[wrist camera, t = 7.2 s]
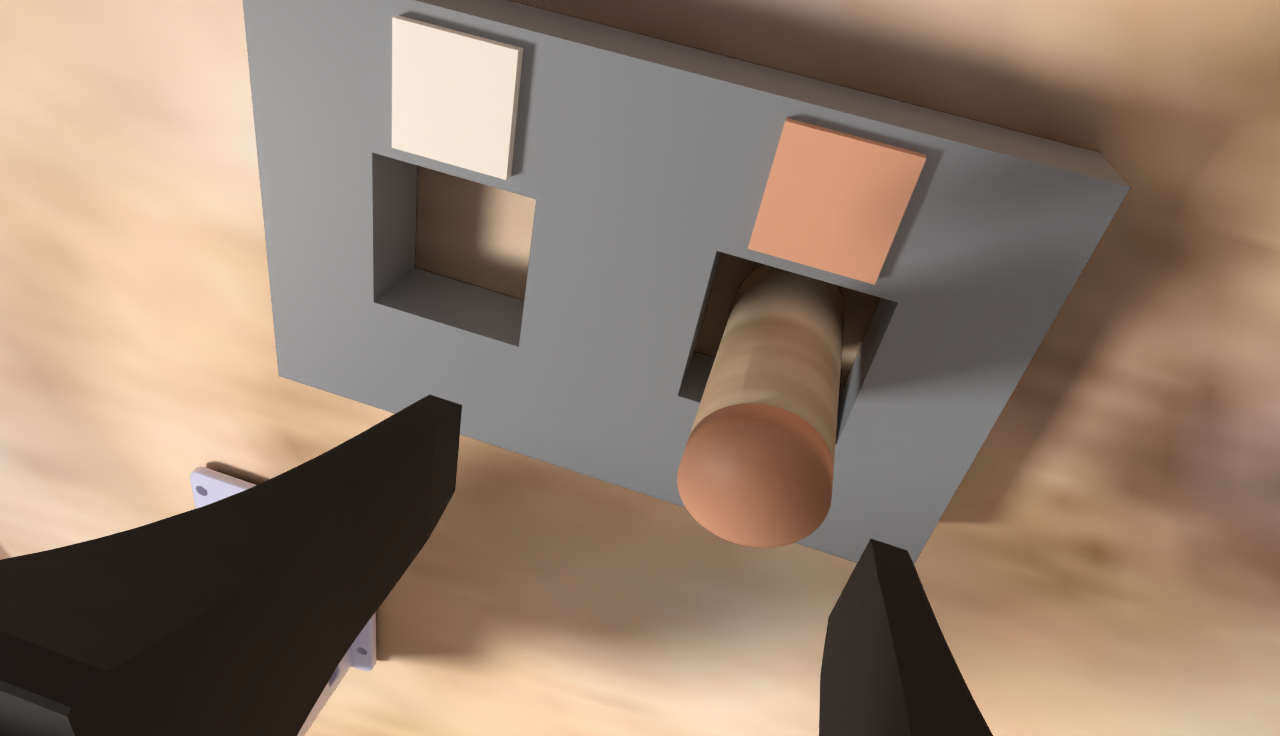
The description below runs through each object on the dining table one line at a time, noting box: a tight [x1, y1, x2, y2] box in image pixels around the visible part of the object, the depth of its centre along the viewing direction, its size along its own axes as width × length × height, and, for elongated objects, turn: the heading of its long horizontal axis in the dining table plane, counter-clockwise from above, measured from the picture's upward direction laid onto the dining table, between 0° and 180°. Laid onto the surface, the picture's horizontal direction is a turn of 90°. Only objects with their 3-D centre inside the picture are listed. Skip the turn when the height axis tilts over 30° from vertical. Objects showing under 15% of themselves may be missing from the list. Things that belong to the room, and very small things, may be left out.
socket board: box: [243, 0, 1130, 564], centre depth 21 cm, size 12×20×3 cm, turn 79°
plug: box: [677, 264, 845, 548], centre depth 18 cm, size 3×3×8 cm
